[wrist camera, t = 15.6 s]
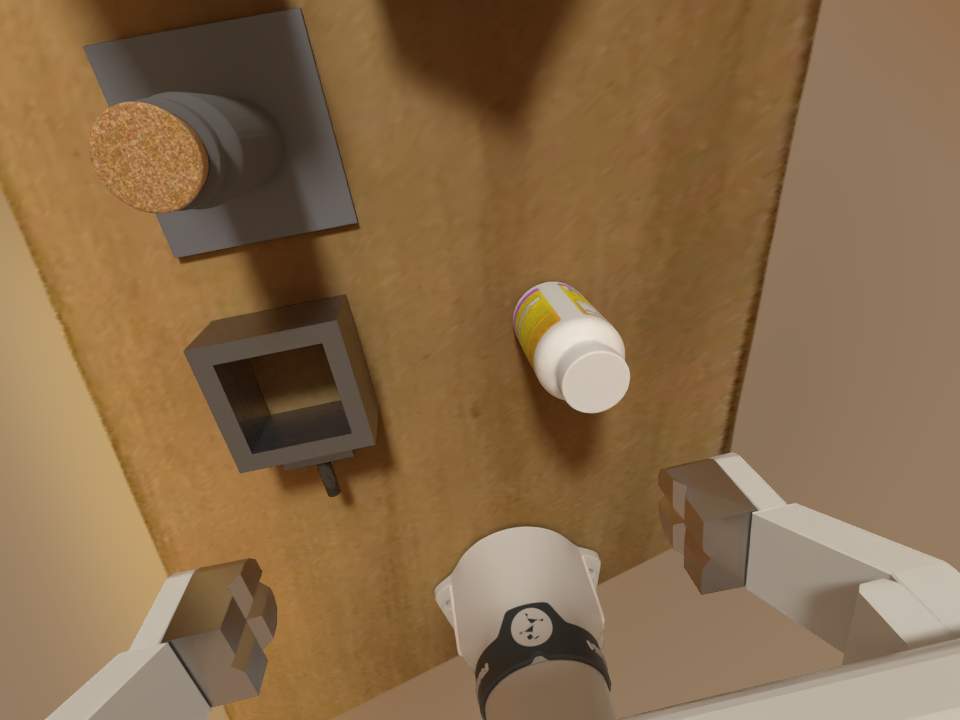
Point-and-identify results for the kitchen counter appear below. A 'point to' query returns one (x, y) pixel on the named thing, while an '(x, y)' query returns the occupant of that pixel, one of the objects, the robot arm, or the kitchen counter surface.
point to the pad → (254, 77)
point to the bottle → (185, 150)
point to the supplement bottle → (571, 347)
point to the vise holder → (295, 432)
